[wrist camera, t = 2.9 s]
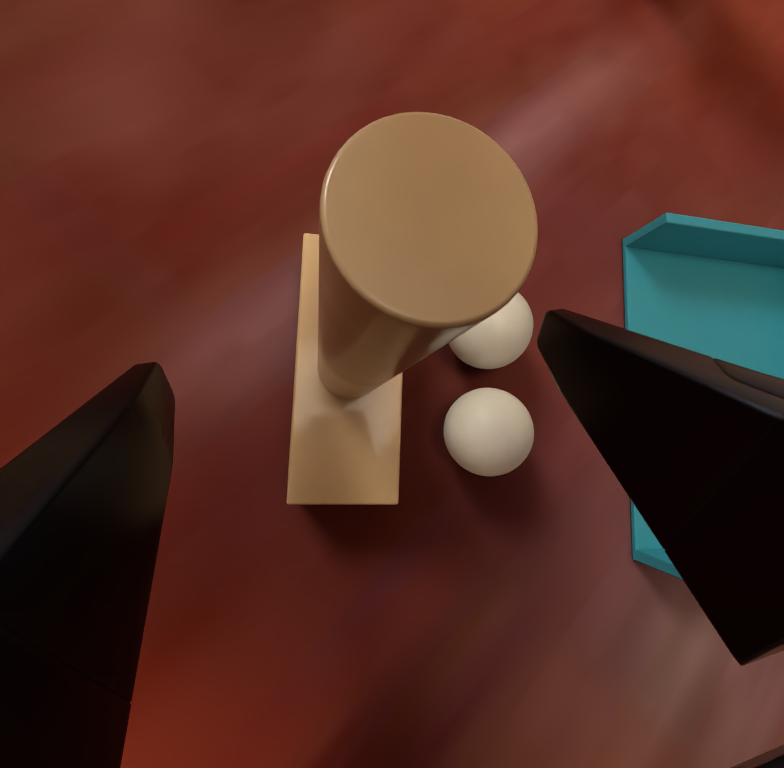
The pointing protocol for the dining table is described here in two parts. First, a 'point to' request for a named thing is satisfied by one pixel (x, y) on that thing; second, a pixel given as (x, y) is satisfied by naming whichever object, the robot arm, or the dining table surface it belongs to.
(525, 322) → the cream oval piece
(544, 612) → the dining table surface
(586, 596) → the dining table surface
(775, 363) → the dustpan
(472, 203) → the brush
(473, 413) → the beige rounded piece
